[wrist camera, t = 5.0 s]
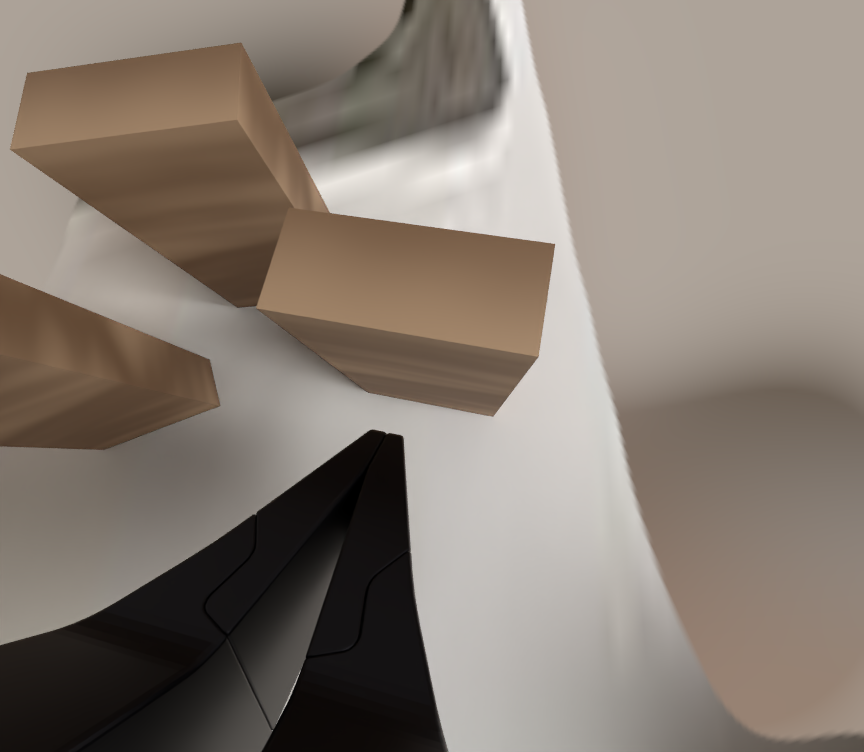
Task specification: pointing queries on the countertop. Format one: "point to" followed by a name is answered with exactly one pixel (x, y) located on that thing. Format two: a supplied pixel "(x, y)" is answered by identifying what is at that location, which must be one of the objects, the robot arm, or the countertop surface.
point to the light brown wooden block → (174, 157)
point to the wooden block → (411, 305)
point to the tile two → (88, 376)
